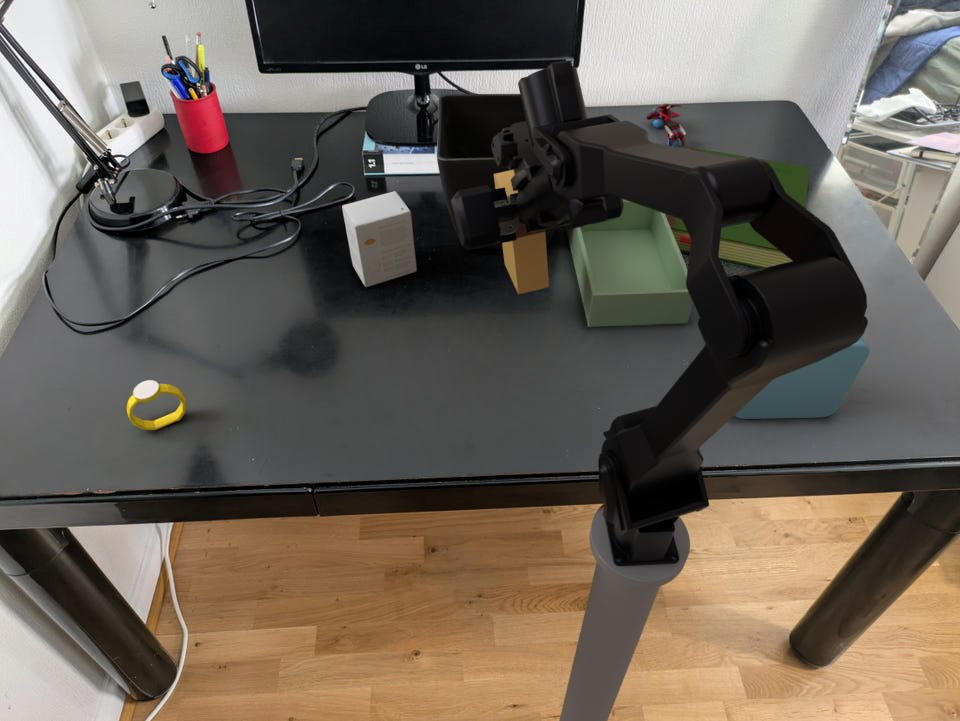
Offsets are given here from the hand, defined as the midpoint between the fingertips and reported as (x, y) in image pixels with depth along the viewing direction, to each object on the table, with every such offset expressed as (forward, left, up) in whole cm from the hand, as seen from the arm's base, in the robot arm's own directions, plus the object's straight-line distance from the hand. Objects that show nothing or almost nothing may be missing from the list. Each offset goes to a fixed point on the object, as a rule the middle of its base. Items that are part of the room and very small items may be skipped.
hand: (518, 221), depth 84 cm
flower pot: (+19, 0, -14) cm, 23 cm away
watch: (-18, +42, -14) cm, 48 cm away
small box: (+9, +18, -14) cm, 24 cm away
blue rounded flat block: (-19, -29, -14) cm, 38 cm away
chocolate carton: (-2, -1, -7) cm, 7 cm away
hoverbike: (+45, -31, -14) cm, 56 cm away
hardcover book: (+19, -36, -14) cm, 43 cm away
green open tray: (+6, -16, -13) cm, 22 cm away
